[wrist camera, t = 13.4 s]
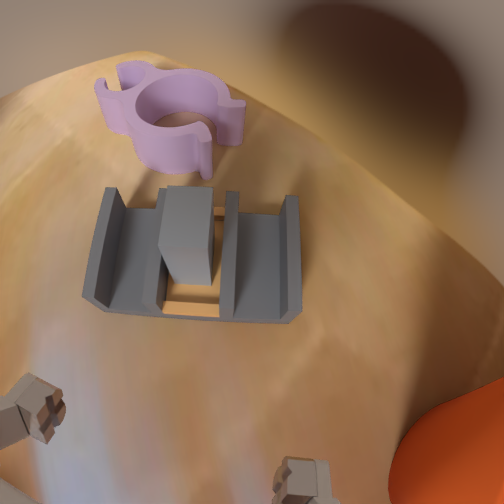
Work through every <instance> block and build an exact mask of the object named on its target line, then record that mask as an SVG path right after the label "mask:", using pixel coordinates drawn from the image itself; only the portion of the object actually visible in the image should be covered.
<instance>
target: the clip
mask: <svg viewBox="0 0 504 504" xmlns="http://www.w3.org/2000/svg"><path fill="white" fill-rule="evenodd" d="M116 69H117V73H118V77H119V81H120V85H121V89H122V91H110V90H108V87H107V83H106V80H105V78H99V79H97V80H96V82H95V85H94V89H95V93H96V96H97V99H98V102H99V104H100V107H101V110H102V113H103V116H104V119H105V122H106V124H107V127H108V128H109V129H110V130H111V131H113V132H115V133H118V134H124V135H128V136H129V137H131V139H132V142H133V145H134V148H135V152H136V154H137V156H138V158H139V159H140V161H141V162H142V163H143V164H144V165H146V166H147V167H149V168H150V169H152V170H155V171H157V172H161V173H166V174H185V173H190V172H194V171H198V172H199V173H200V175H201V178H202V179H203V180H208V179H211V178H212V177H213V162H212V136H211V133H210V131H209V129H208V127H207V126H206V125H205V124H204V123H203V122H201V121H197V122H194V123H192V124H188V125H185V126H180V127H158V126H154V125H153V124H154V123H155V122H156V121H157V120H159V119H160V118H162V117H164V116H166V115H169V114H172V113H176V112H195V113H199V114H201V115H204V116H206V117H207V118H209V119H210V120H211V121H212V122H213V123H214V124H215V126H216V128H217V143H218V144H220V145H225V146H239V145H241V144H242V142H243V131H244V121H245V111H246V101H244V100H241V99H240V100H234V99H232V98H231V97H230V92H229V89H228V87H227V85H226V84H225V83H224V82H223V81H222V80H221V79H220V78H218V77H217V76H215V75H213V74H211V73H209V72H206V71H202V70H197V69H173V70H161V69H157V68H155V67H154V66H153V65H152V64H150V63H148V62H145V61H127V62H123V63H120V64H118V65H116Z"/></svg>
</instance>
